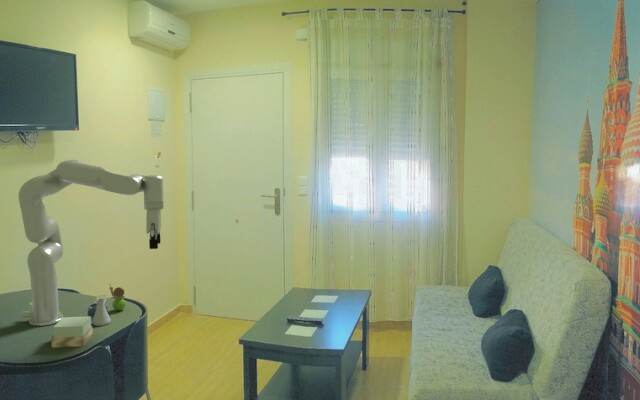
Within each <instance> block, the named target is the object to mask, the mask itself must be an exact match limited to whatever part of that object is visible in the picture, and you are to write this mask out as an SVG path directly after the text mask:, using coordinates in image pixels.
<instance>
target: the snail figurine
mask: <svg viewBox="0 0 640 400" xmlns="http://www.w3.org/2000/svg"><path fill="white" fill-rule="evenodd" d="M108 285H109V290H110V293H111V296H112V297H113V298H114V300H113V301H112V308H113V309H114V310H115V311H118V312H119V311H123V310H124V309H125V307H126V301H125V299H124V298H125V290H124V288H122V287H121V286H120V287H116V288H114V287H113V286H112V284H111V283H109V284H108Z"/></svg>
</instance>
